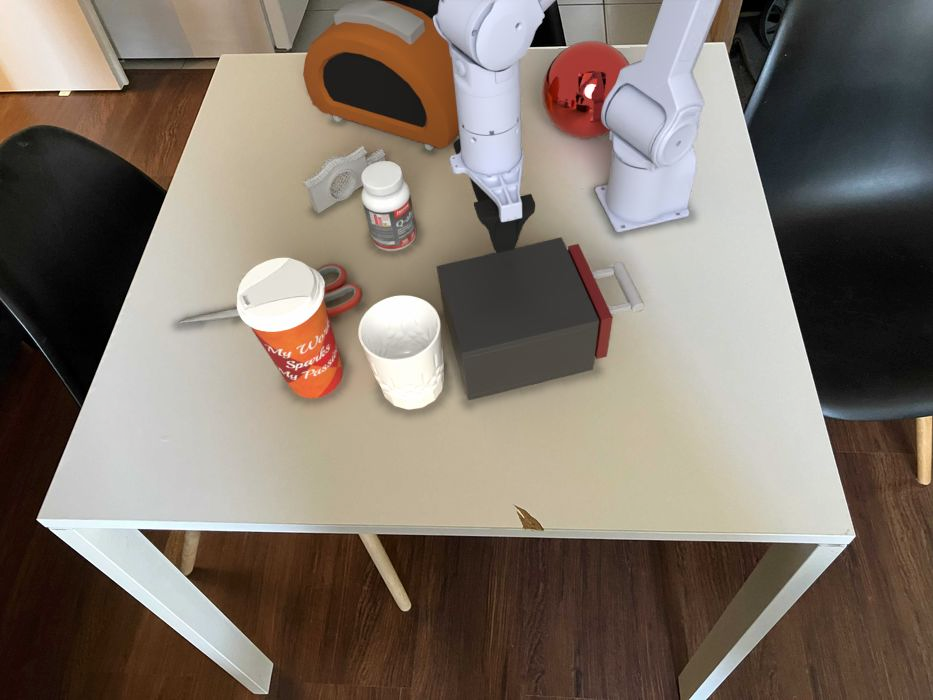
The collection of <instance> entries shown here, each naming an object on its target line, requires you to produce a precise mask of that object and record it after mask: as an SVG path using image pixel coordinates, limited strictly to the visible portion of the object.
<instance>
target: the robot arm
mask: <svg viewBox="0 0 933 700" xmlns="http://www.w3.org/2000/svg"><path fill="white" fill-rule="evenodd" d="M555 2H556V0H439V2H438V6H437V13H436V14H434V15H433V17H432V20H433V22H434V26H435V28H436V30H437V32H438V33H439V35H440V36H441V37H443V38H444V39H445V40H446V41H447V42H448V44H449V50H450V57H452V65H453V76H454V85H455V95H456V105H457V115H458V124H459V134H458V135H459V138H458V139H456V140H454V142H453V149H454V153H455V154H453V155H451V156H450V157H449V166H450V168H451V171H452V173H453V174H456V175H459V174H460V175H461V174H465V175H467V176H468V177H469V180H470V183H471V187H472V190H473V193H474V196H475V198H476V201H473V207H474V211H475V214H476V217H477V218H478V220H479V222H480V223H481V224H482V225H483V226H484V227H485V228H486V230H487V231H488V235H489V238H490V239H489V240H490V242H491V245H492V247H493V250H494V253H500V252H504V251H509V250H513V249H515V248H517V244H518V241H519V238H520V235H521V232H522V229H523V227H524V225H525V223H526V222H527V221H528V220H529V218H530V217H532V216H533V214H534V213H535V211H536V202H535V199H534V197H533V194H532V193H528V194H522V195H521V187H522V177H523V170H524V169H523V168H524V159H525V157H524V148H523V147H522V115H521V114H522V105H521V102H522V101H521V100H522V99H521V59H522V58H524V57H525V55H526V53H527V52H528V50H529V48H530V47H531V44H532V42H533V40H534V37H535V34H536V31H537V30H538V28H539V26H540V25H541V24H542V23H543V19H544V18H545V13H544V12H545V11H547V10H548V8H550V7H551V6H552V4H554V3H555ZM721 3H722V0H662V2H661V5H660V8H659V11H658V13H657V16H656V20H655V23H654V25H653V28H652V31H651V33H650V36H649V37H650V38H649V39H648V43H647V46H646V49H645V51H644V54H643V57H642V60H638V61H635V62H632V63H629V64H630V65H627V66H626V67H624V68H622V69H621V70H620V73H619V76H618V79H617V81H616V83H615V85H614V87H613V88H612V90H611V91H610V92H609V94H608V95H607V97H606V99H605V101H604V104H603V107H602V111H601V121H602V123H603V125H604V126H605V127H606V128H608V129H610V132H609V135H608V139H609V141H611V143H612V147H611V157H610V164H609V165H610V167H609V172H608V173H609V175H608V182H607V184H604V185H600V186H597V187H595V189H594V192H595V195H596V196H597V198H598V200H599V202H600V204H601V207H602V208H603V210H604V212H605V214H606V216H607V218H608V220H609V222H610V224H611V226H612V228H613V229H614V231H615V232H616V233H623V232H627V231H631V230H636V229H640V228H644V227H648V226H654V225H658V224H662V223H666V222H669V221H674V220H679V219H684V218H687V217H689V216H690V210H689V208H688V207H689V203H690V197H691V194H692V189H693V185H694V180H695V177H696V172H697V157H696V156H697V155H696V152H695V148H694V143H695V142H696V140H697V136H698V132H699V126H700V117H701V113H702V111H703V109H704V106H705V105H706V103H705V100H704V97H703V95H702V93H701V90H700V88H699V86H698V83H697V80H696V78H695V75H694V69H695V67H696V65H697V62H698V60H699V57H700V55H701V52H702V49H703V46H704V45H705V42H706V39H707V37H708V36H709V35H708V34H709V32H710V30H711V27H712V25H713V22H714V19H715V17H716V15H717V12H718V10H719V7H720V4H721Z"/></svg>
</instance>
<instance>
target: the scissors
mask: <svg viewBox="0 0 933 700" xmlns="http://www.w3.org/2000/svg"><path fill="white" fill-rule="evenodd" d="M316 270H317V271H318V272H319V273H320V275H321V276H322V277H324V276H326V275H328V274H332V273H334V274H338V277H337V278H336V279H335V280H334V281H333V282H331V283H329V284H328V283H327V284H325V287H324V301H325V304H327V303H329V302H332V301H334V300H337V299H339V298H341V297H343V296H345V295H348V294H350V293H352V296H351V298H349V299H348V300H346V301H344V302H343V303H340V304H338V305H336V306H335V305H334V306H333V307H329V308H327V312H328V315H329V319H331V318H333V317H337V316H339V315H342V314H344V313H346V312H348V311H350V310H351V309H353V308H355V307H356V306H357V305H359V303H360V301H361V299H362V296H363V295H362V293H363V292H362V289H361V288H360V287H359V286H358V285H357V284H355V283H347V284H346V281H347V278H348V275H347V274H348V273H347V270H345V268H344V267H343V266H341V265H339V264H335V263H329V264H325V265H323V266H321V267H319V268H318V269H316ZM239 317H240V315H239V314H238V310H237V307H236V308H232V309H227V310H222V311H218V312H217V311H216V312H211V313H207V314H202V315H198V316H197V315H196V316H192V317H187V318H184V319H183V320H180V321H178V323H179V324H182V323H194V322H205V321H213V320H214V321H215V320H222V319H231V318H239Z"/></svg>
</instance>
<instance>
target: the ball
mask: <svg viewBox="0 0 933 700" xmlns="http://www.w3.org/2000/svg"><path fill="white" fill-rule="evenodd" d="M630 64H631V63H630V62H629V61H628V59H627V58H626V57H625V56H624V54H623V53H622V52H621V51H620V50H618V49H617V48H615V47H614V46H613V45H611V44H608V43H606V42H602V41H599V40H598V41H597V40H585V41H581V42H577V43H574V44H572V45H570V46H568V47H566V48H565V49H563V50H562V51H561V52H560V53H559V54H557V56H556V57H555V58H554V59H553V60H552V61H551V62H550V64H549V66H548V68H547V70H546V72H545V75H544V78H543V81H542V87H541V88H542V91H541V93H542V94H541V97H542V99H541V100H542V104H543V107H544V111H545V112H546V115H547V117H548V119H549V120H550V122H551V123H552V124H553V125H554V126H555V127H556V129H558V130H559V131H561V132H562V133H564V134H566V135H567V136H571V137H572V138H576V139H582V140H583V139H584V140H589V139H596V138H599V137H603V136H606V135H607V134H610V129H608V128H606V127H605V126H604V125H603V123H602V121H601V111H602V107H603V104H604V101H605V99H606V97H607V95H608V94H609V92H610V91H611V90H612V88H613V87H614V85H615V83H616V81H617V79H618V76H619V73H620V70H621V69H622V68H624V67H626V66H627V65H630Z"/></svg>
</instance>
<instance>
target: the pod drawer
mask: <svg viewBox="0 0 933 700" xmlns="http://www.w3.org/2000/svg"><path fill="white" fill-rule="evenodd" d="M567 250H568V252H569V255H570V257H571V259H572V261H573V264H574V266H575V268H576V270H577V272H578V275H579V277H580V279H581V281H582V284H583V286H584V288H585V290H586V293H587V295H588V297H589V299H590V301H591V304H592V306H593V308H594V310H595V313H596V315H597V317H598V319H599V325H598V333H597V341H596V349H595V357H594V358H595V359H596V360H599V359H603V358H607V357H608V353H609V352H608V350H609V345H610V338H611V333H612V332H611V331H612V325H613V320H614V319H613V318H614V317H613V315H614V314H619V313H623V312H627V311H631V312H633V313H638V312H642V311H643V310H644V309H645V306H646V305H645V303H644V300H643V298H642V297H641V295H640V293H639V291H638V289H637V286H636V284H635V283H634V281H633V279H632V277H631V275H630V272H629V271H628V269H627V267H626V264H625V263H624V262H623V261H616V262H614V264H613V265H612V266H611V267H608V268H603V269H599V270H596V271H592V269H591V267H590V265H589V264H588V260H587V258H586V257H585V255H584V253H583V250H582V249H581V246H580V244H579V243H576V244H572V245H568V246H567ZM610 276H614V277H615V279H616V281H617V283H618V285H619V286H620V289H621V291H622V293H623V296H624V297H625V299H626V301H627V302H625V303H621V304H616V305H612V306H608V303H607V302H606V300H605V298H604V295H603V294H602V291H601V289H600V286H599V285H598V282H597V281H596V280H598V279H601V278H605V277H610Z"/></svg>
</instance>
